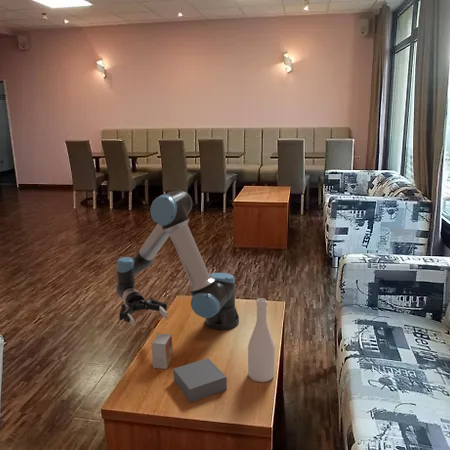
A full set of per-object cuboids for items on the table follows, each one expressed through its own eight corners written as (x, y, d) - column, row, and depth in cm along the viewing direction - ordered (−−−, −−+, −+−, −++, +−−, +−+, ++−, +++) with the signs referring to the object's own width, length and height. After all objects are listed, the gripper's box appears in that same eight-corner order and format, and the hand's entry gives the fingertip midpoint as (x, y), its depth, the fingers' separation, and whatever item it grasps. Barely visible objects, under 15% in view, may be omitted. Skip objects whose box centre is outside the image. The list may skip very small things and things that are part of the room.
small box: (166, 369, 169) (165, 344, 167) (152, 368, 170) (151, 343, 168) (173, 358, 177) (172, 334, 174) (159, 356, 178) (158, 332, 175)
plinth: (208, 369, 169) (208, 357, 167) (226, 389, 157) (226, 376, 155) (173, 381, 162) (173, 368, 161) (190, 402, 150) (189, 389, 149)
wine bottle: (244, 380, 162) (244, 303, 154) (252, 366, 171) (252, 292, 163) (270, 385, 159) (271, 307, 151) (276, 370, 167) (278, 296, 160)
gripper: (160, 301, 204) (179, 321, 186) (105, 313, 192) (119, 335, 174) (160, 286, 202) (178, 304, 184) (104, 297, 190) (118, 317, 172)
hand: (150, 319), depth 179 cm, fingers open, 13 cm apart
